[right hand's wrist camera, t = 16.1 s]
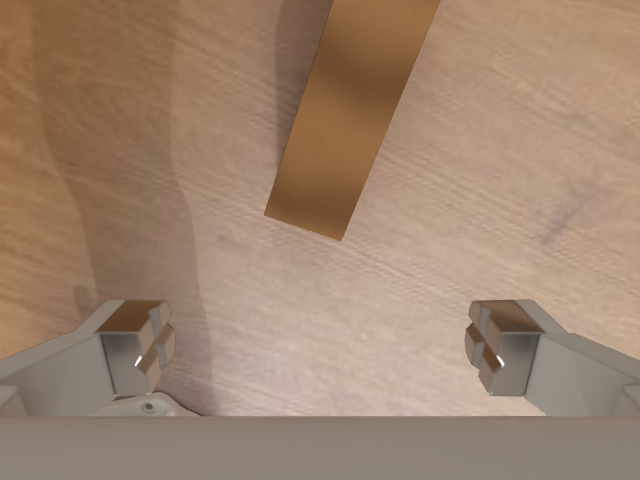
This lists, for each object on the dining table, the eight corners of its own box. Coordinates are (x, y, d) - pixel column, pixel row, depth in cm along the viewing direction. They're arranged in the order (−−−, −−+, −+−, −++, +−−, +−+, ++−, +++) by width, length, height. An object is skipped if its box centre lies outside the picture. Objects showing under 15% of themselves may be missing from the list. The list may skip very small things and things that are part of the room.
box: (336, 207, 36) (340, 242, 28) (277, 187, 35) (263, 215, 27) (433, -41, 29) (481, -99, 20) (362, -74, 28) (380, -148, 20)
